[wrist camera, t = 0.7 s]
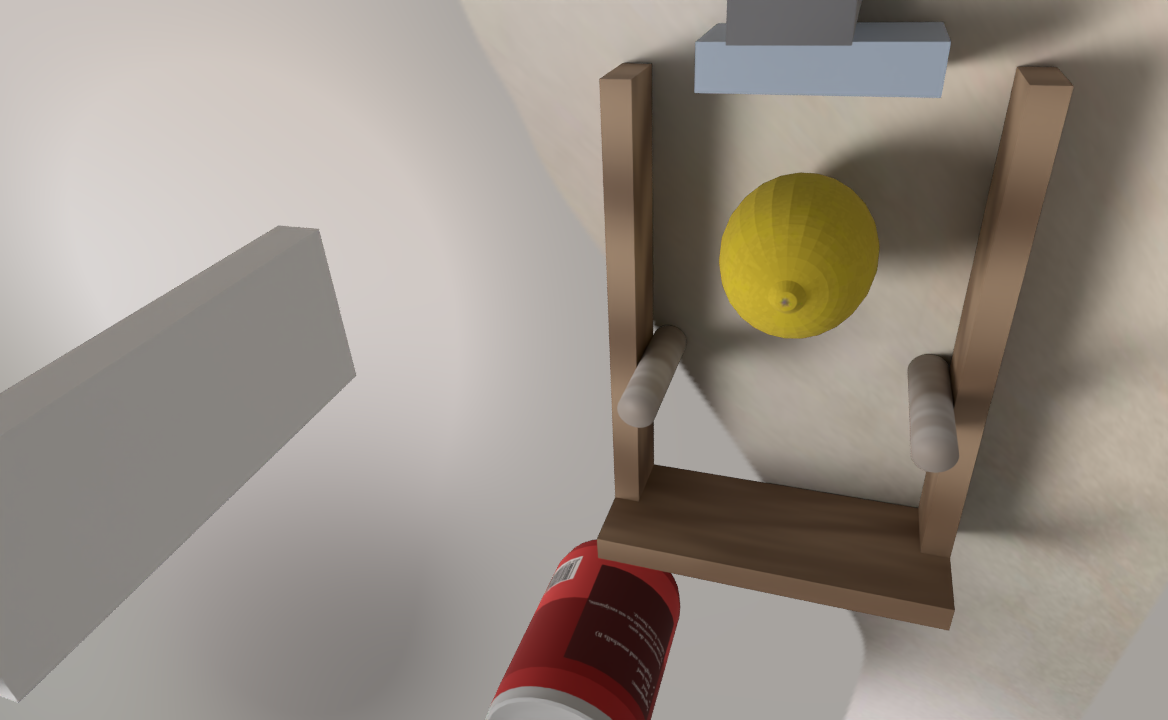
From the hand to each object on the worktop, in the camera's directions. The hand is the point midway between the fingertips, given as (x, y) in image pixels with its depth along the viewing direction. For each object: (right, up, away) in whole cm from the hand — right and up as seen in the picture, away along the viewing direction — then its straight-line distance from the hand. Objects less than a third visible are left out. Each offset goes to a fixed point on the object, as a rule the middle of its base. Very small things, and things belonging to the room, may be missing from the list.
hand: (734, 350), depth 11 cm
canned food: (0, -13, +35) cm, 38 cm away
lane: (+7, +2, +23) cm, 24 cm away
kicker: (+6, +13, +16) cm, 21 cm away
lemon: (+7, +6, +21) cm, 23 cm away
